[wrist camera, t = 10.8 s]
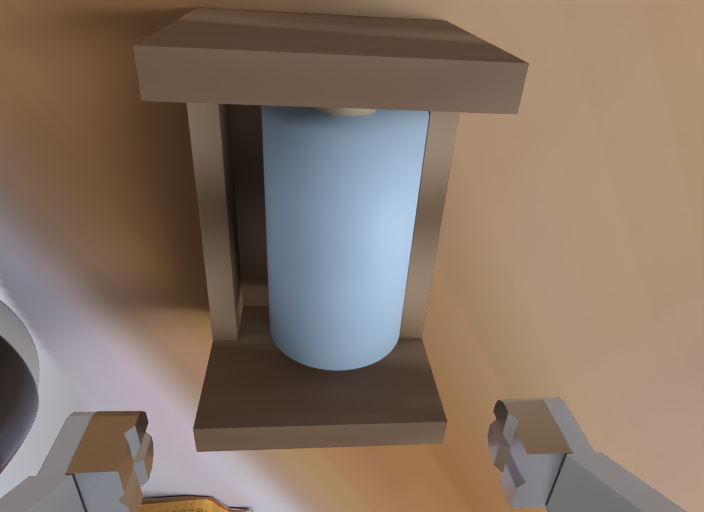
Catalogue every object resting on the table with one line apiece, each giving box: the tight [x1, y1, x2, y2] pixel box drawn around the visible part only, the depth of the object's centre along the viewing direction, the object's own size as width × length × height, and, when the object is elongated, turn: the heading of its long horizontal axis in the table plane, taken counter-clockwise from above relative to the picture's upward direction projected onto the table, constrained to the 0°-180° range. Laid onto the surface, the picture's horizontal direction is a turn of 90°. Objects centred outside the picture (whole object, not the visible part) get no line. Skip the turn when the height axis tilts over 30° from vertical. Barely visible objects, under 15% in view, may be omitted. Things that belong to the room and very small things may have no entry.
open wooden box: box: [133, 8, 529, 452], centre depth 18 cm, size 14×9×8 cm, turn 177°
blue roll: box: [262, 105, 429, 370], centre depth 19 cm, size 9×5×5 cm, turn 177°
